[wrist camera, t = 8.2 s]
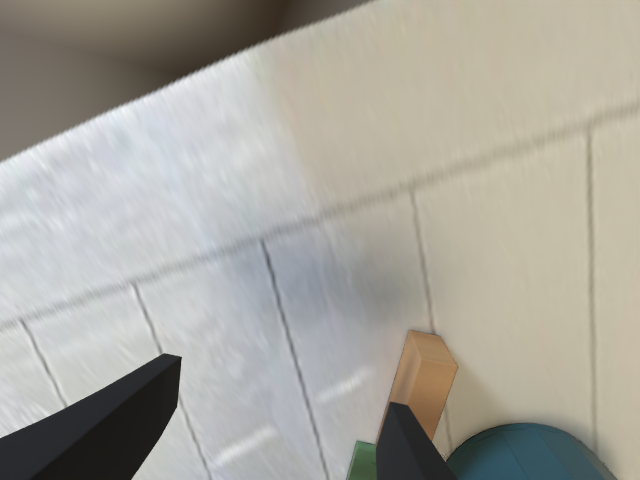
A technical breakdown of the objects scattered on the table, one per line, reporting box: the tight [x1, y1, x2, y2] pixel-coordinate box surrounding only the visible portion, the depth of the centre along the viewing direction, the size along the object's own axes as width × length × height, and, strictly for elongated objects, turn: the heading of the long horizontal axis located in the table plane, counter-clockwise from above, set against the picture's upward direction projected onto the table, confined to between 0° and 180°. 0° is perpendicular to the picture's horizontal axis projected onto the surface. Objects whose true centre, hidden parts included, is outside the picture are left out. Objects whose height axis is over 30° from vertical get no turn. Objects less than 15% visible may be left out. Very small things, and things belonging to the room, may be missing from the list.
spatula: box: [346, 330, 458, 480], centre depth 21 cm, size 16×5×3 cm, turn 169°
